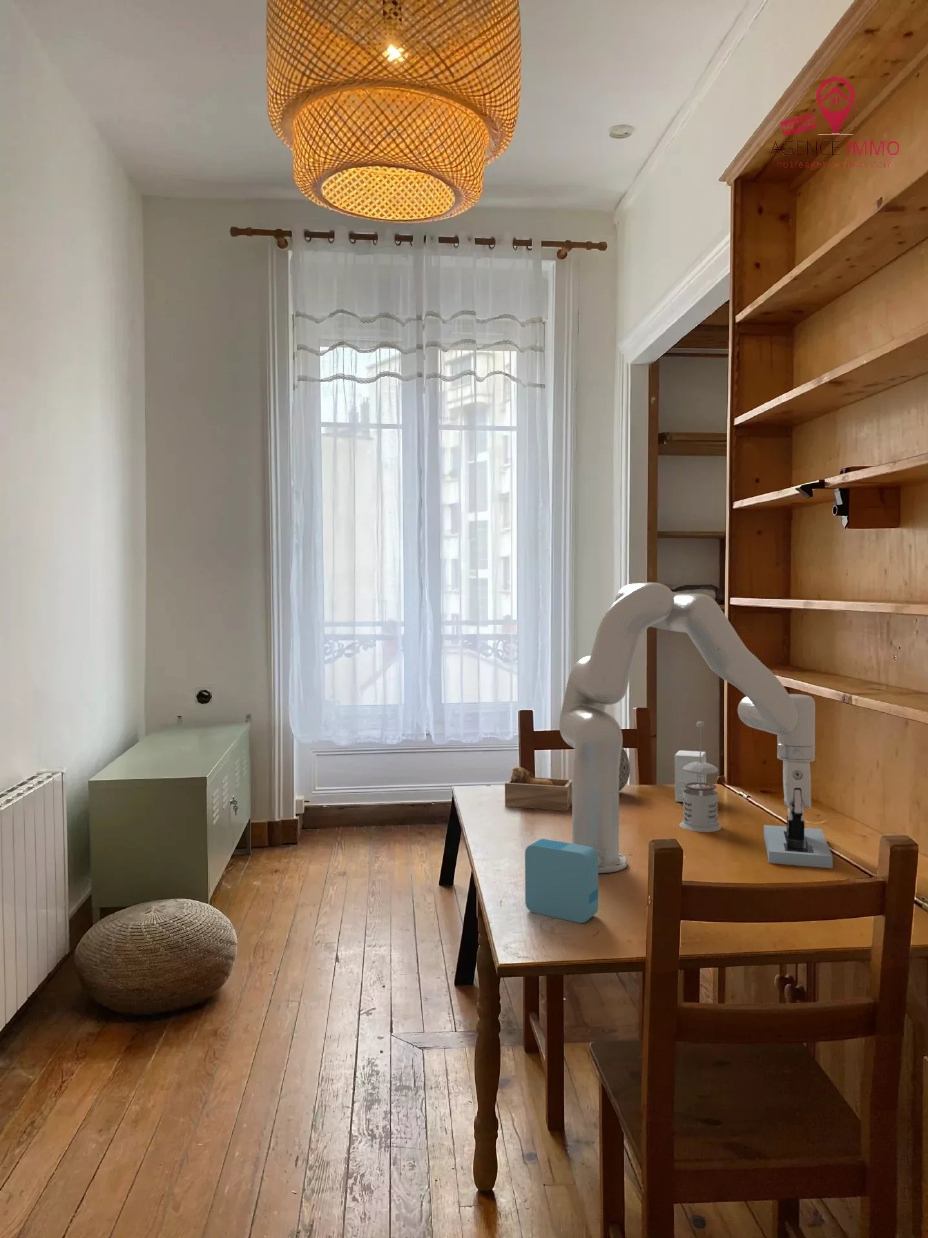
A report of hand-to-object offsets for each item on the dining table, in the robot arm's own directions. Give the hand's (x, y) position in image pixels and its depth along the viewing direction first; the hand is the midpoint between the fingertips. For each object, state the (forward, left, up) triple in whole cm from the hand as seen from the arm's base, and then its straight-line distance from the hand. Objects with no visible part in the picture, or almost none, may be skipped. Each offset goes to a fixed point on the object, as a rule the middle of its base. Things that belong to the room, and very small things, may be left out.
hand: (795, 836), depth 179 cm
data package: (-49, +42, -3) cm, 65 cm away
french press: (+14, +20, -3) cm, 24 cm away
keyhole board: (-1, 0, -3) cm, 3 cm away
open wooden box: (+23, +61, -3) cm, 65 cm away
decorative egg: (+39, +45, -3) cm, 59 cm away
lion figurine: (+22, +62, -3) cm, 66 cm away
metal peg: (0, 0, -2) cm, 2 cm away
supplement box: (+38, +23, -3) cm, 44 cm away
